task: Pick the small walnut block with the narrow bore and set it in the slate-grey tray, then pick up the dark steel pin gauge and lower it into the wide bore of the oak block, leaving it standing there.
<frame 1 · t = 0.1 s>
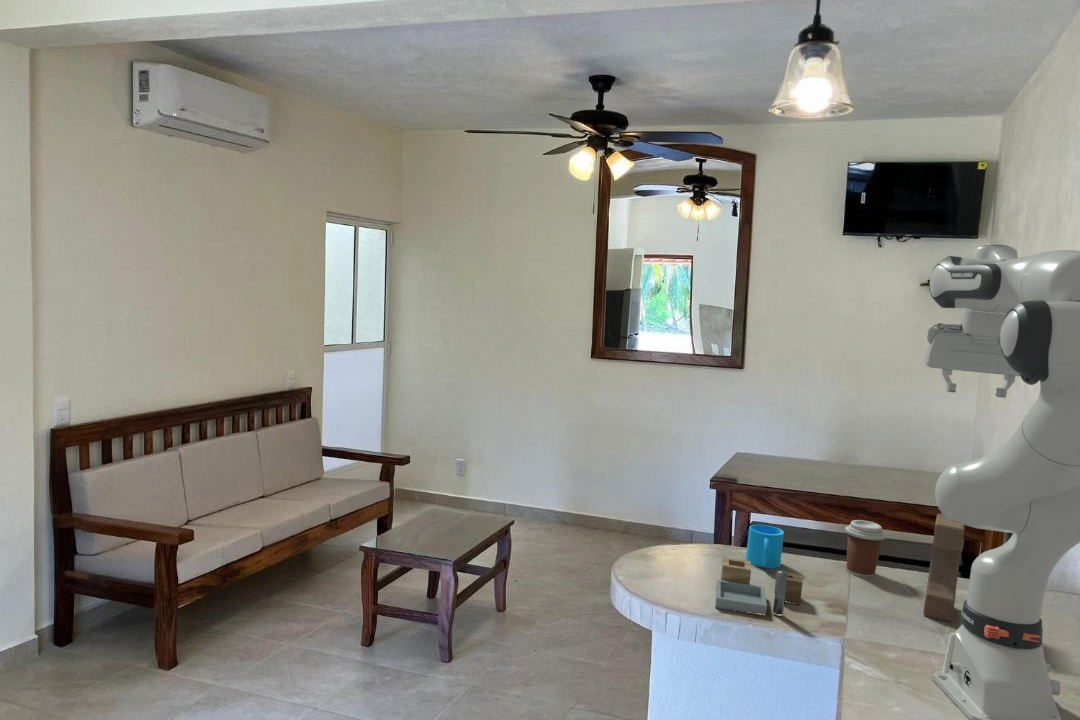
hand: (975, 394, 167), 48 cm above the counter, fingers open, 8 cm apart
decorative block: (938, 612, 177), on the counter
coffee cup: (860, 573, 198), on the counter
pin gauge: (777, 614, 168), on the counter
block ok: (734, 585, 183), on the counter
tray: (739, 602, 173), on the counter
mug: (763, 565, 198), on the counter
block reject: (786, 598, 177), on the counter
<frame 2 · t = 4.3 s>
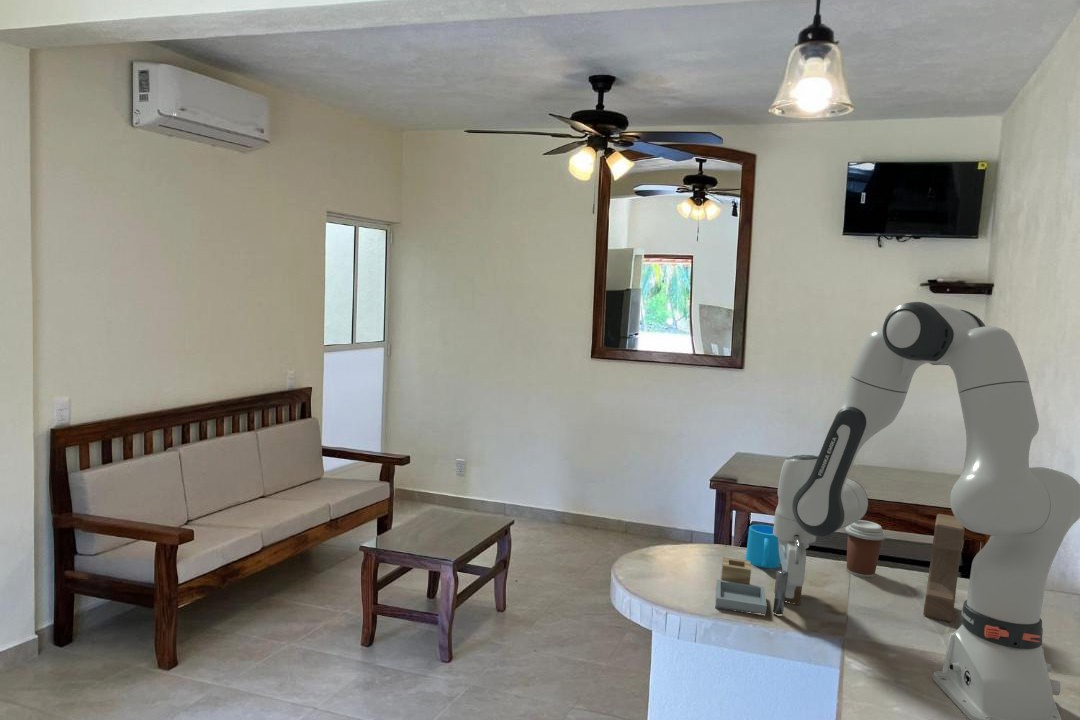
hand: (787, 591, 177), 2 cm above the counter, fingers closed on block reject, 5 cm apart
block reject: (786, 598, 177), on the counter, touching gripper
everything else where it was.
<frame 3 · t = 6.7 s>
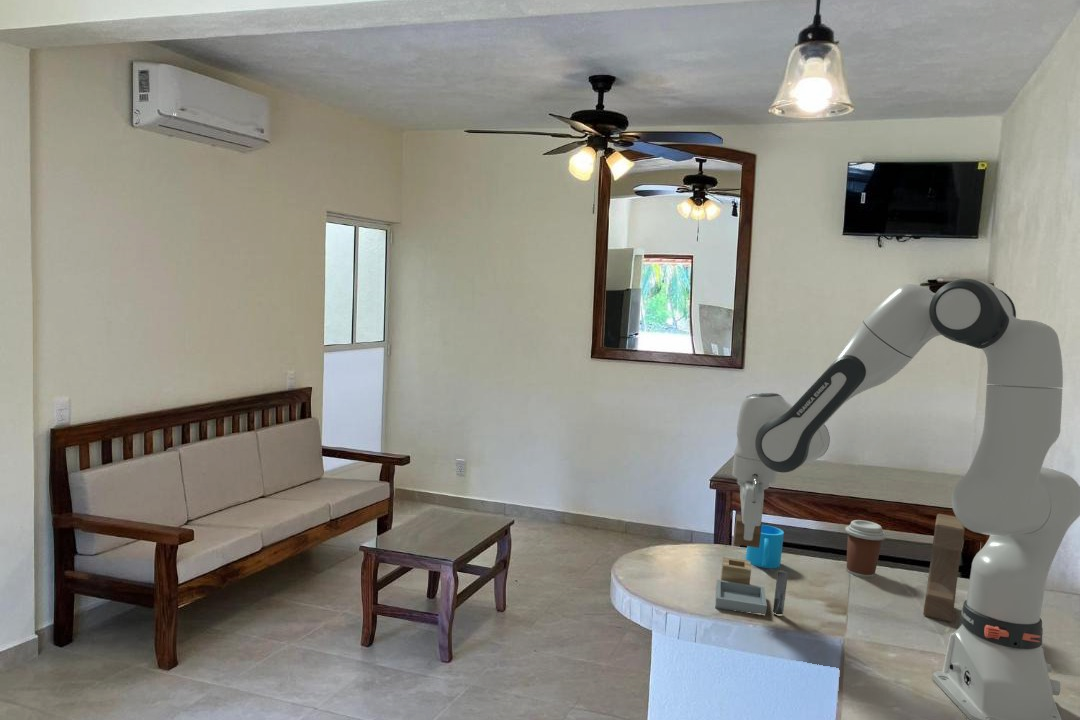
hand: (747, 534, 171), 15 cm above the counter, fingers closed on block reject, 5 cm apart
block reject: (746, 542, 172), point 13 cm above the counter, touching gripper
everything else where it was.
when the fingers open (3 cm above the counter, at t = 9.2 s): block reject stays where it is, resting on tray.
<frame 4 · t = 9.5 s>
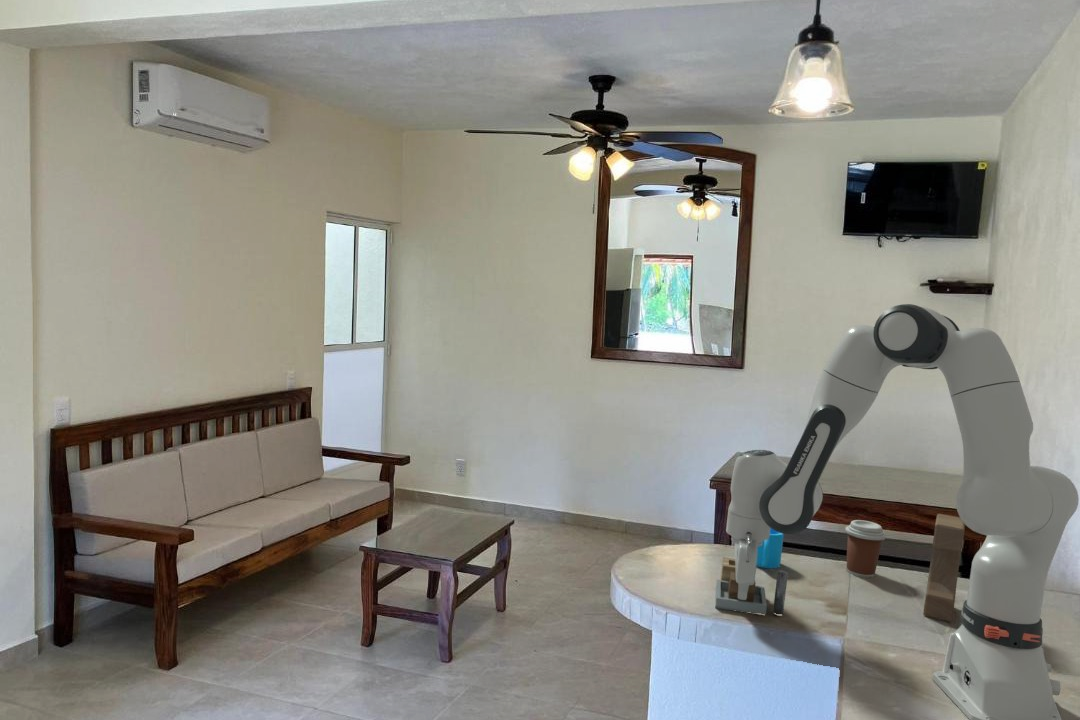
hand: (741, 590, 173), 3 cm above the counter, fingers open, 8 cm apart
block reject: (740, 600, 173), resting on tray
everything else where it was.
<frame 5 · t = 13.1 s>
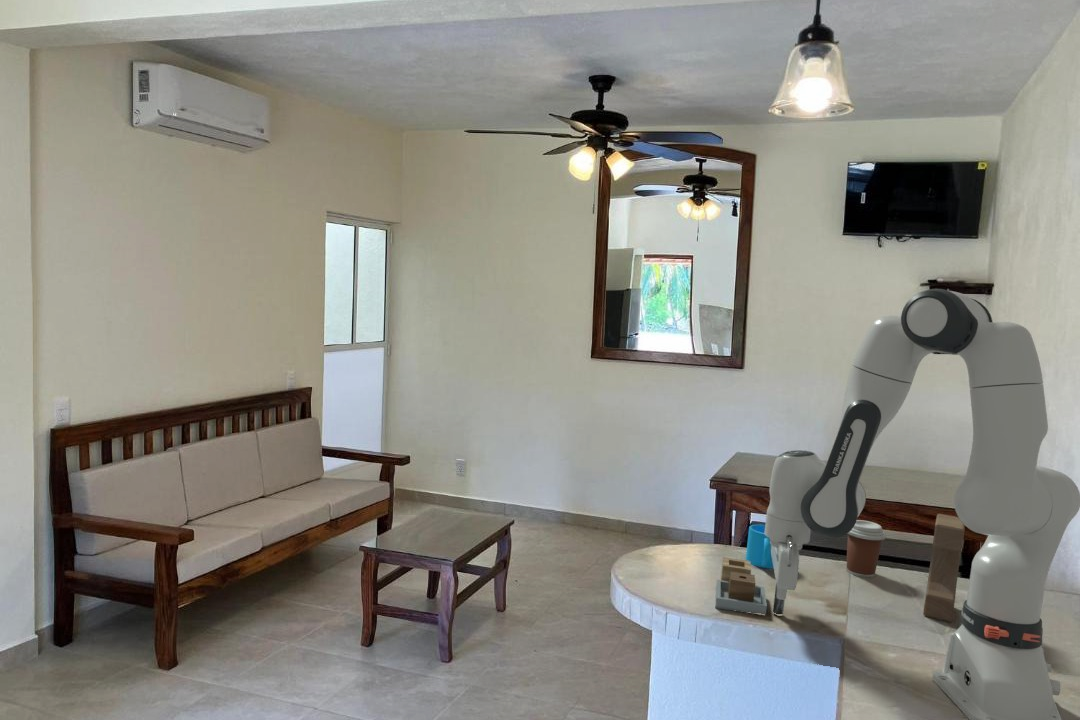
hand: (780, 595, 168), 4 cm above the counter, fingers closed on pin gauge, 2 cm apart
pin gauge: (777, 614, 168), on the counter, touching gripper
everything else where it was.
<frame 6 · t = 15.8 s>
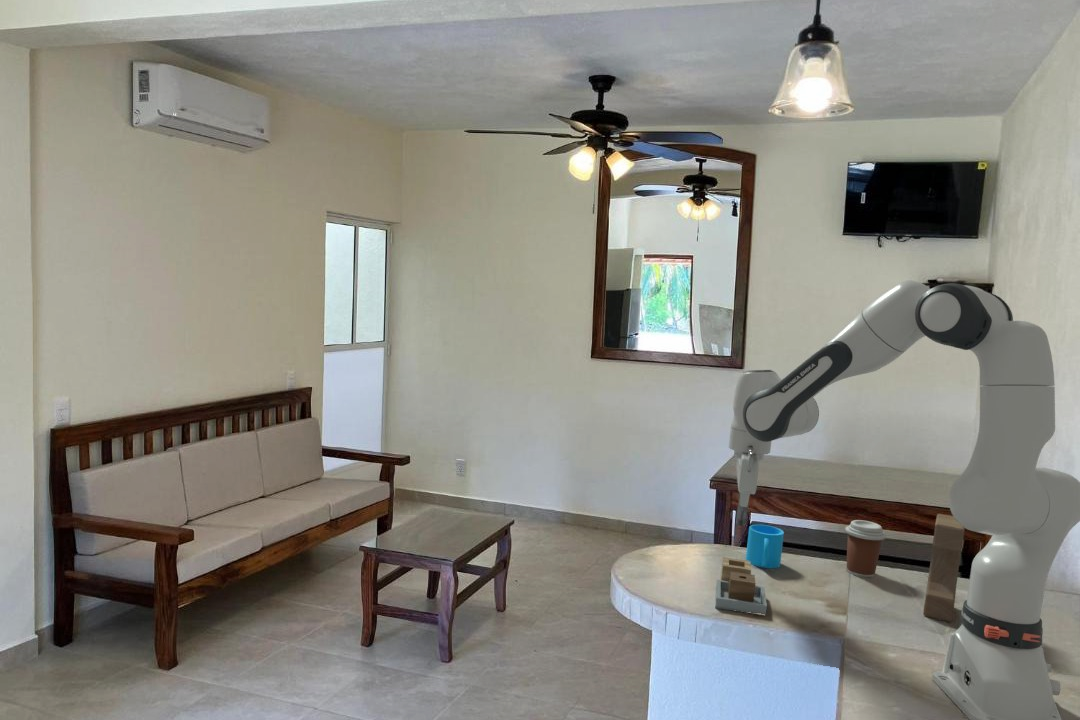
hand: (743, 504, 181), 18 cm above the counter, fingers closed on pin gauge
pin gauge: (740, 524, 181), point 14 cm above the counter, touching gripper
everything else where it was.
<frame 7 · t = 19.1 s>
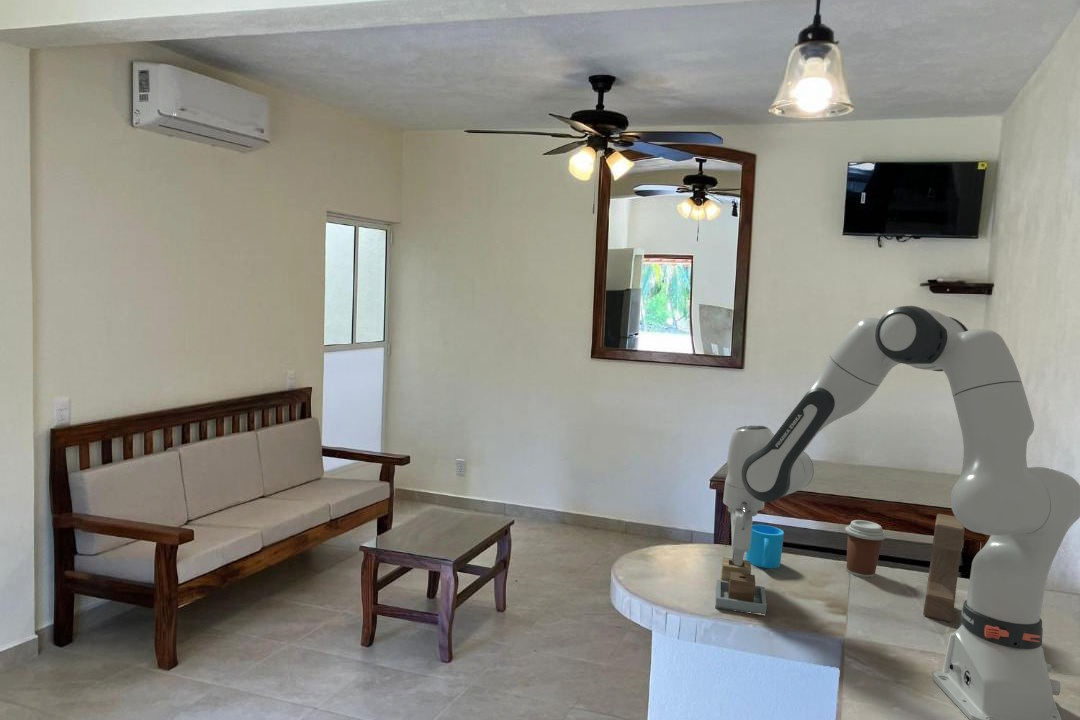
hand: (737, 558, 182), 6 cm above the counter, fingers open, 7 cm apart
pin gauge: (734, 585, 183), resting in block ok
everything else where it was.
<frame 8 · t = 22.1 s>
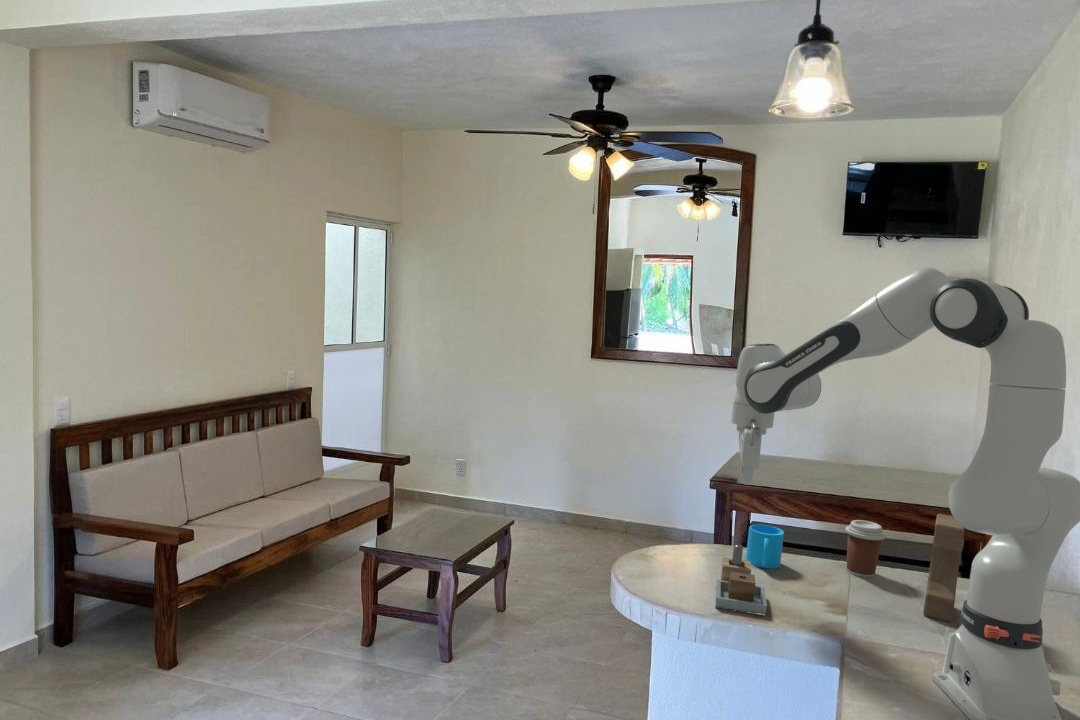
hand: (745, 479, 180), 24 cm above the counter, fingers open, 8 cm apart
nothing on the counter moved.
at the end: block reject inside the target area on the tray (0.0 cm from its centre), point 0.5 cm above the tray's base; pin gauge 0.1 cm from the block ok (horizontally); pin gauge resting in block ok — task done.
